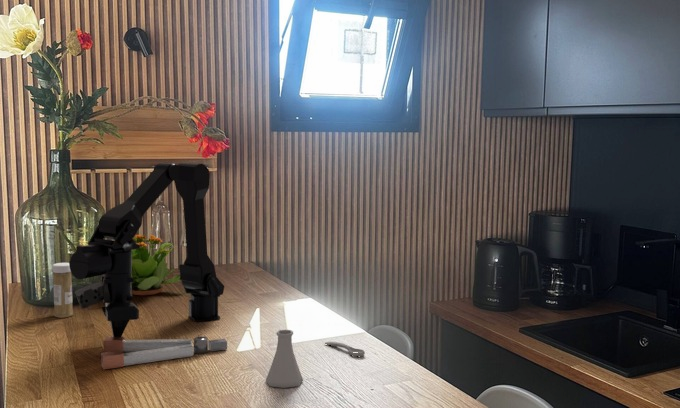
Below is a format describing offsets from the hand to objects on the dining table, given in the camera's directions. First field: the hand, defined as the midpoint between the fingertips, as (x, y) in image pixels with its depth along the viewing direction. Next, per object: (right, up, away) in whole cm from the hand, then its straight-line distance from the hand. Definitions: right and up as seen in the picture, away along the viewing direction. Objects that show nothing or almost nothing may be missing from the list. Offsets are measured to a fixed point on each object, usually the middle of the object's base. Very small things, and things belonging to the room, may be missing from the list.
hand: (116, 340), depth 146 cm
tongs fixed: (+13, -2, -6) cm, 14 cm away
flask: (+38, -5, -17) cm, 42 cm away
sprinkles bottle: (-21, +1, +23) cm, 32 cm away
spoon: (+50, -3, +2) cm, 50 cm away
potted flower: (-7, +4, +49) cm, 49 cm away
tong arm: (+9, -2, -2) cm, 10 cm away
